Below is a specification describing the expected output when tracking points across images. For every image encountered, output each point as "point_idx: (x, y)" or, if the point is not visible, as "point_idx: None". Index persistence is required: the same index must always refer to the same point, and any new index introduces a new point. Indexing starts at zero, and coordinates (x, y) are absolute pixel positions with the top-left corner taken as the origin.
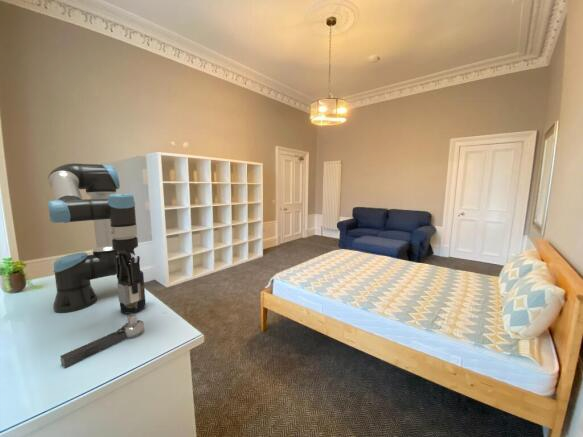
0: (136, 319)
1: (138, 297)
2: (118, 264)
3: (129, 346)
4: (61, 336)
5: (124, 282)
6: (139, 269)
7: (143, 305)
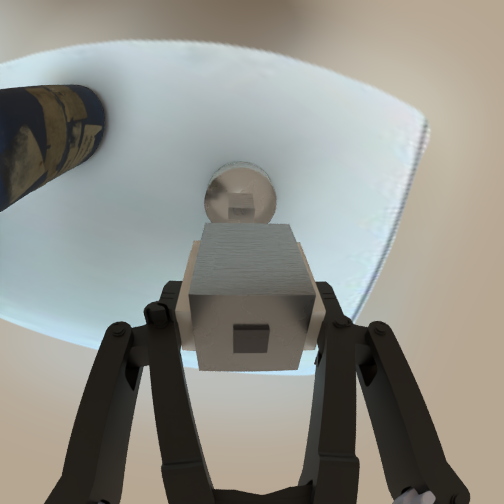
0: (253, 202)
1: (303, 253)
2: (124, 455)
3: (298, 231)
4: (101, 296)
5: (231, 352)
6: (424, 411)
7: (95, 99)
